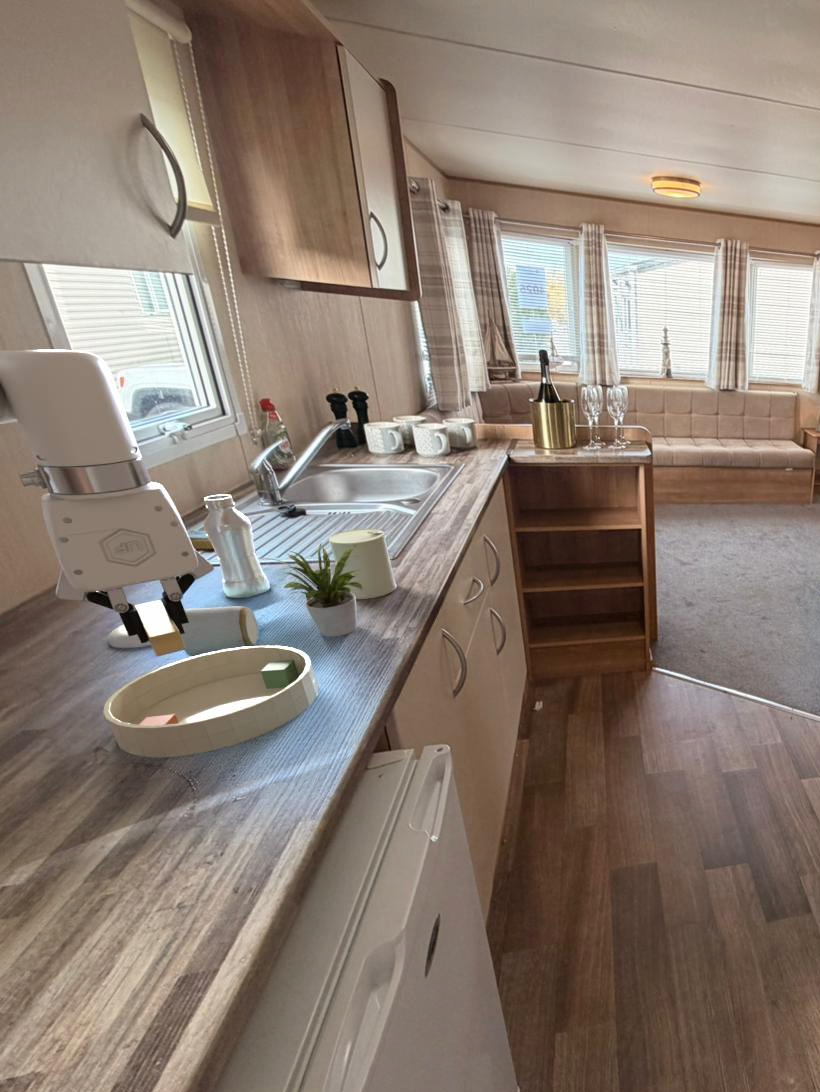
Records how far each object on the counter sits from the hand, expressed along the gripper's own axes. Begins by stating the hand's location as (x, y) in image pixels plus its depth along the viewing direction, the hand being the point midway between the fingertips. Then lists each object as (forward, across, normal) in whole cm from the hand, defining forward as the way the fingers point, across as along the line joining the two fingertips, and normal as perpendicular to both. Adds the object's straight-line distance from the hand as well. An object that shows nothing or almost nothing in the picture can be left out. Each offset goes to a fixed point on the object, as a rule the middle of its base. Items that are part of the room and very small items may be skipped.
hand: (161, 633), depth 73 cm
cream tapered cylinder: (+17, +32, +42) cm, 56 cm away
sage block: (+17, +11, +12) cm, 23 cm away
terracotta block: (+17, -3, +6) cm, 18 cm away
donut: (+17, 0, +42) cm, 46 cm away
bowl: (+17, +4, +10) cm, 20 cm away
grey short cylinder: (+17, +8, +33) cm, 38 cm away
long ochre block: (0, 0, 0) cm, 0 cm away
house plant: (+17, +21, +26) cm, 37 cm away
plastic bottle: (+17, +15, +53) cm, 57 cm away
